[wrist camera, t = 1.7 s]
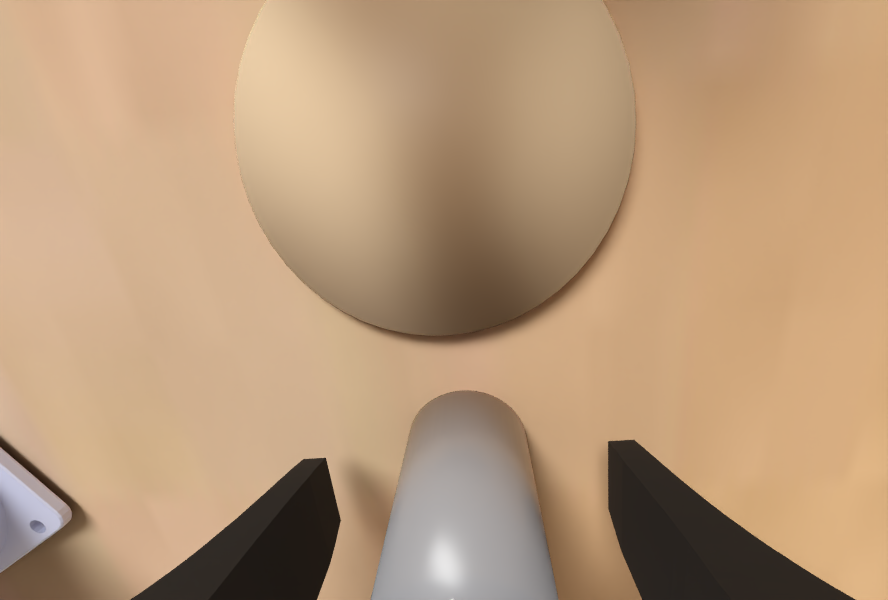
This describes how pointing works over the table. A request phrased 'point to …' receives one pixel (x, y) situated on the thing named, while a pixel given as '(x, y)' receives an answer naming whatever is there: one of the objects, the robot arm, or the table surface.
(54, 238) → the table surface
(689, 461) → the table surface
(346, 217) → the coaster
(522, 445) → the plug
